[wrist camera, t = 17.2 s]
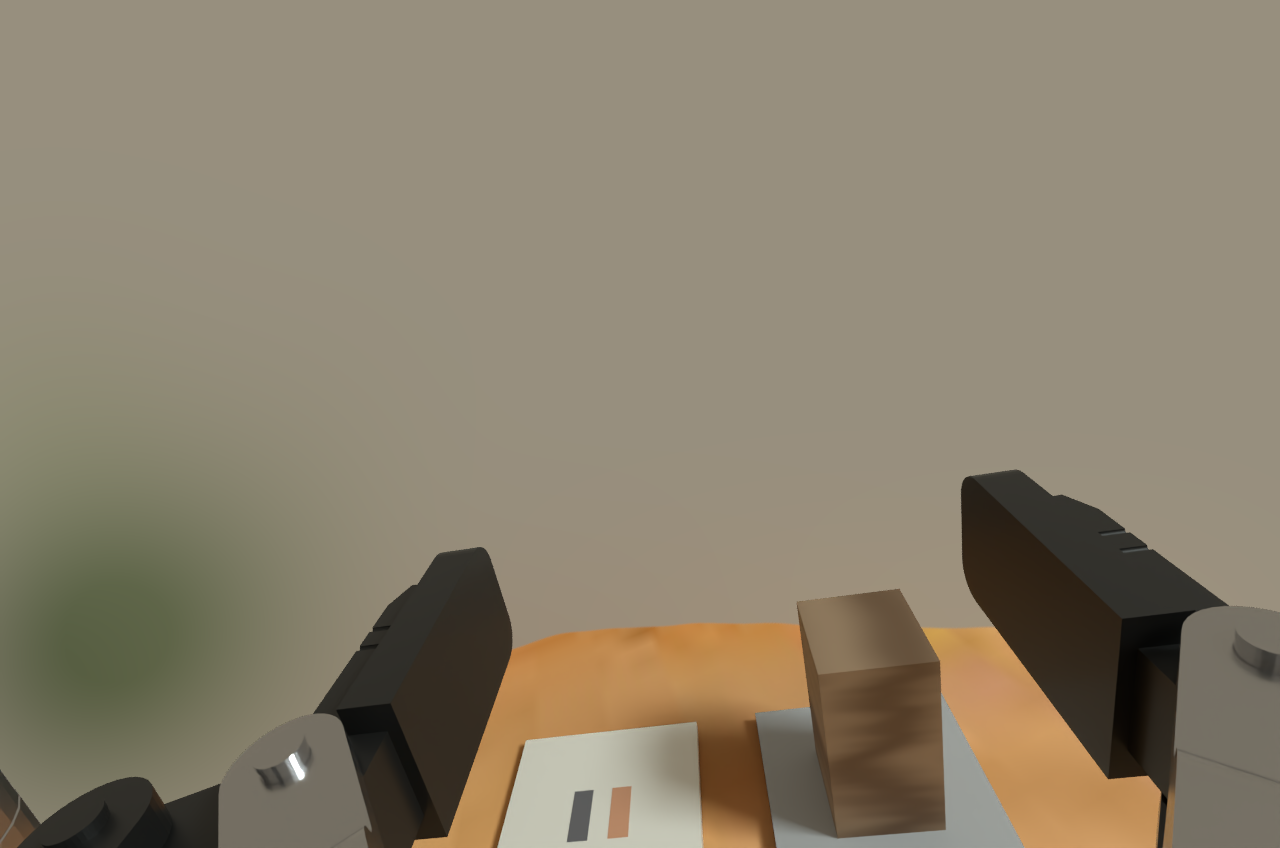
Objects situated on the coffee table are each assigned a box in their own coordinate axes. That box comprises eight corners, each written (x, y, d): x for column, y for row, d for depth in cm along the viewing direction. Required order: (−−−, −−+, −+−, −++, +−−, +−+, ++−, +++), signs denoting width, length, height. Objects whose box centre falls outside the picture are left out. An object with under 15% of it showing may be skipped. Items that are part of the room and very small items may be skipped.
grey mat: (787, 918, 30) (786, 907, 30) (756, 722, 41) (755, 713, 41) (1045, 900, 29) (1046, 888, 29) (941, 702, 40) (941, 692, 40)
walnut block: (837, 838, 33) (817, 674, 29) (815, 750, 38) (796, 601, 34) (945, 829, 32) (939, 661, 28) (908, 741, 37) (899, 588, 33)
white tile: (477, 940, 32) (474, 932, 32) (528, 746, 43) (525, 740, 43) (706, 924, 31) (705, 916, 30) (697, 728, 42) (696, 721, 42)
